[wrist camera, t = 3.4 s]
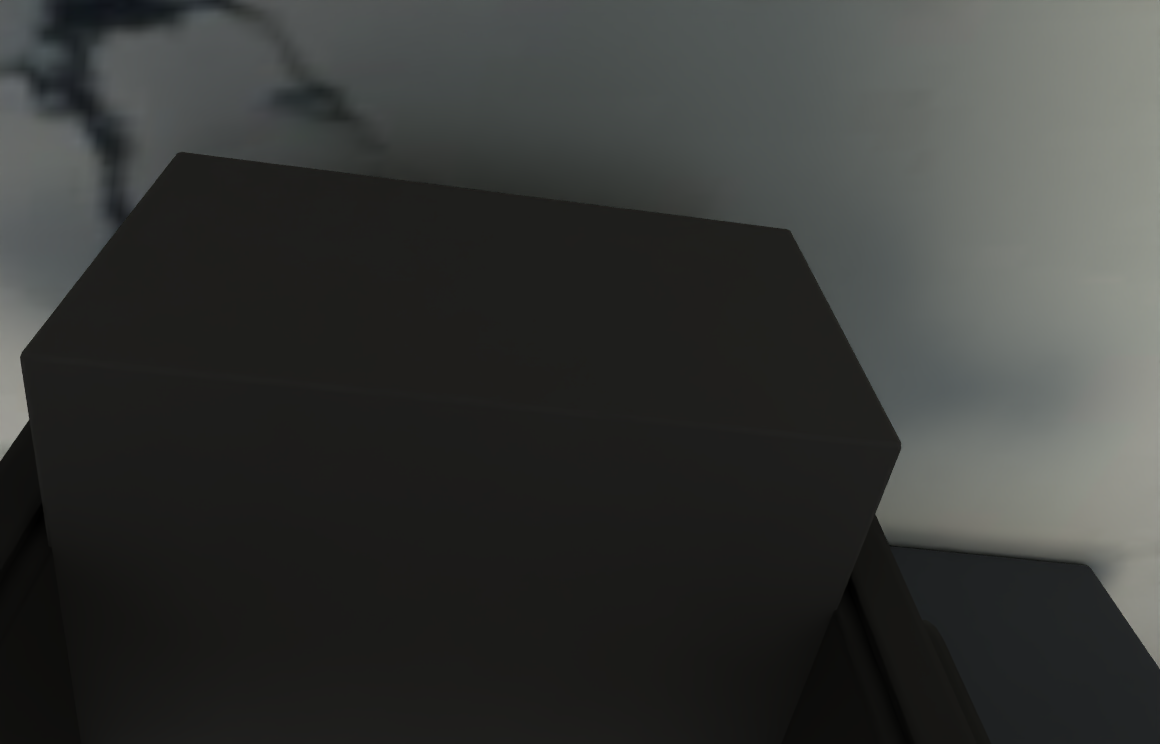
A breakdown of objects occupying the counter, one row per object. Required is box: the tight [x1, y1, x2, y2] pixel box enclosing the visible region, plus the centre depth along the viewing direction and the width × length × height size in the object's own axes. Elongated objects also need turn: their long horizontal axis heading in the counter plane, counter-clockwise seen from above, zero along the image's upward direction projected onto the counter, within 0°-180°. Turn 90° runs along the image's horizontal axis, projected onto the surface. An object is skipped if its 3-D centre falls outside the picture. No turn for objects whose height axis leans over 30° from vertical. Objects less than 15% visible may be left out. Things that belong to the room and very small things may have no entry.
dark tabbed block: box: [20, 152, 901, 744], centre depth 12 cm, size 9×6×4 cm
